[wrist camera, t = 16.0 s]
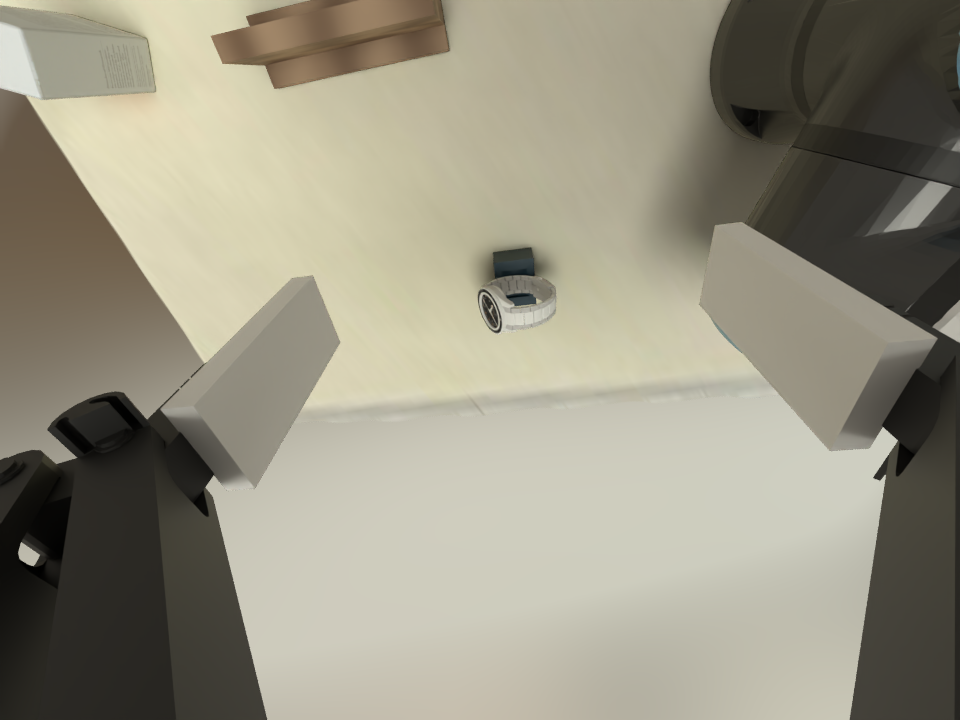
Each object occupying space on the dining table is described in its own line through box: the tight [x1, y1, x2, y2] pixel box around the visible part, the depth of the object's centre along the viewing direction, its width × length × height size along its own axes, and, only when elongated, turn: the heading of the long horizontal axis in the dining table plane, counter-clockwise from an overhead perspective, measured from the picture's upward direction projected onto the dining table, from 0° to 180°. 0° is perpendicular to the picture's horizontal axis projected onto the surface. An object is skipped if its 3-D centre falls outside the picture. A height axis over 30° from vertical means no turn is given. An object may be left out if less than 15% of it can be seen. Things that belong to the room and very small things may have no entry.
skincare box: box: [0, 5, 156, 100], centre depth 31 cm, size 6×4×12 cm
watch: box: [478, 248, 556, 334], centre depth 42 cm, size 6×8×11 cm
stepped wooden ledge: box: [211, 0, 449, 89], centre depth 31 cm, size 16×5×8 cm, turn 100°
